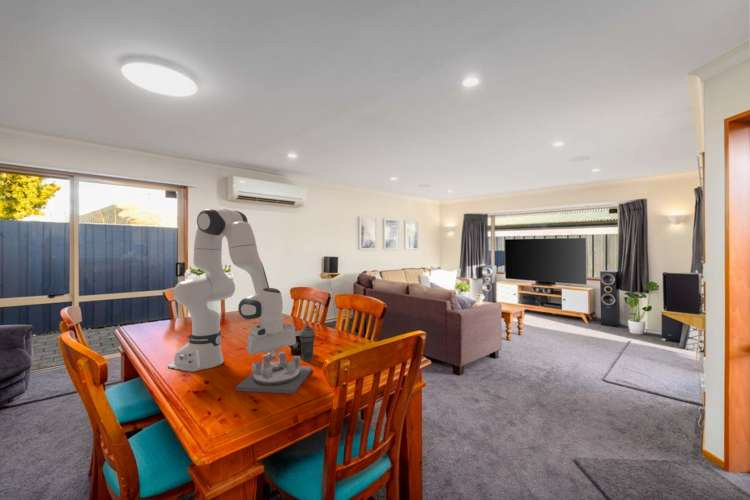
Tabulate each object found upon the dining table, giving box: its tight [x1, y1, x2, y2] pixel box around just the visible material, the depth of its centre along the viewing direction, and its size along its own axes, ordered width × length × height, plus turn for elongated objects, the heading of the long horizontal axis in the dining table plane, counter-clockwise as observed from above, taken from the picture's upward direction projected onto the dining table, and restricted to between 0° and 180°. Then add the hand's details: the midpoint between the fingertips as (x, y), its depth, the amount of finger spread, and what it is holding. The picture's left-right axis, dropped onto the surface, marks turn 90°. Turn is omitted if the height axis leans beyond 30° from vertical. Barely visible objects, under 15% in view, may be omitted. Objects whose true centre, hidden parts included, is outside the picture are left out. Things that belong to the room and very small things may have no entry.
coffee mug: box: [288, 330, 302, 356], centre depth 160 cm, size 12×9×10 cm
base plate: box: [235, 365, 313, 395], centre depth 128 cm, size 22×22×2 cm
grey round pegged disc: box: [251, 351, 301, 385], centre depth 127 cm, size 19×18×6 cm
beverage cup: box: [299, 317, 316, 362], centre depth 150 cm, size 7×7×20 cm
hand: (272, 359), depth 134 cm, fingers closed
